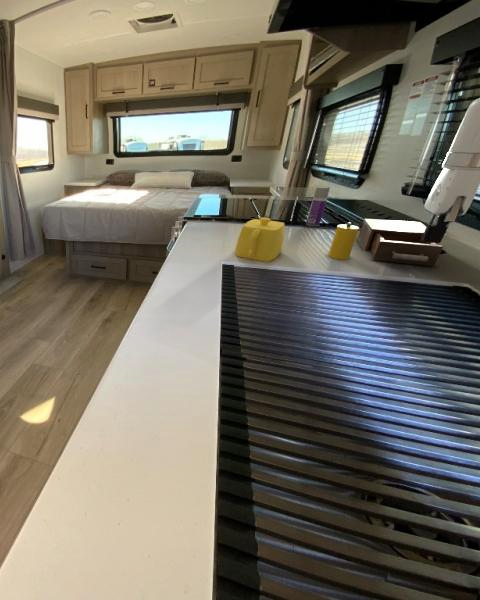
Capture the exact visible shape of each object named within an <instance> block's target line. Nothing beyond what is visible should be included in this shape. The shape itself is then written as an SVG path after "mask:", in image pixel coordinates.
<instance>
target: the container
mask: <svg viewBox="0 0 480 600" xmlns="http://www.w3.org/2000/svg"><path fill="white" fill-rule="evenodd" d="M330 189H331V187H330V186H325V185H324V186H322V185H320V186H316V187H315V189H314V190H315V191H314V193H313V197H312V200H311V204H310V208H309V212H308V215H307V219H306V222H305V225H306V226H309V227H319V226H320V224H321V220H322V217H323V214H324V211H325V207H326V204H327V200H328V196H329V193H330Z"/></svg>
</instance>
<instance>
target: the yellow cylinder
mask: <svg viewBox="0 0 480 600" xmlns="http://www.w3.org/2000/svg"><path fill="white" fill-rule="evenodd" d="M359 231H360V227H359V226H357V225H354V224H353V223H352V222H350V221H349V222H347V223H346V224H338V225H337V226H336V230H335V233H334V235H333V239H332V242H331V245H330V248H329V251H328V255H327V256H328V257H329V258H332V259H335V260H348V259H349V258H350V255H351V253H352V250H353V248H354V244H355V241H356V240H357V237H358V234H359Z"/></svg>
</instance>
